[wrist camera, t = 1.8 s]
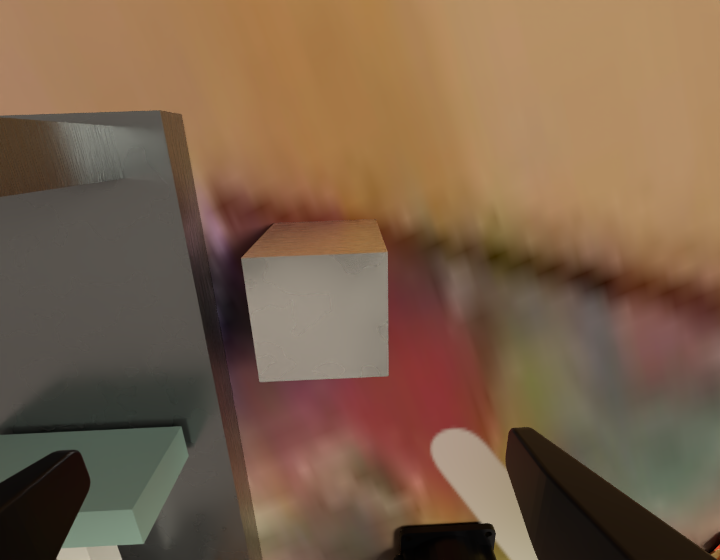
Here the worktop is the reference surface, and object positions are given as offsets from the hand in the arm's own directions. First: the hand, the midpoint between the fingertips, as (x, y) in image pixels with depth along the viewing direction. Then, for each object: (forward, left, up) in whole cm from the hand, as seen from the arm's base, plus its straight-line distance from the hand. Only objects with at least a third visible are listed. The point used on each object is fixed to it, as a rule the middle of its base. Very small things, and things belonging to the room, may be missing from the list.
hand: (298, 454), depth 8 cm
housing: (0, 0, -12) cm, 12 cm away
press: (+13, +7, -12) cm, 19 cm away
